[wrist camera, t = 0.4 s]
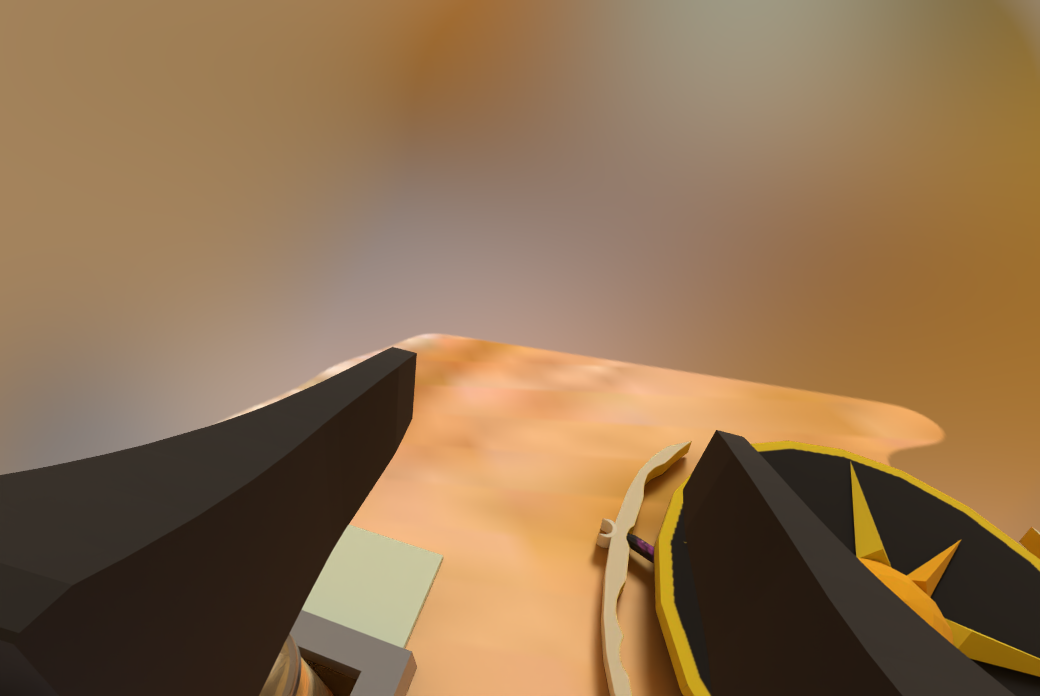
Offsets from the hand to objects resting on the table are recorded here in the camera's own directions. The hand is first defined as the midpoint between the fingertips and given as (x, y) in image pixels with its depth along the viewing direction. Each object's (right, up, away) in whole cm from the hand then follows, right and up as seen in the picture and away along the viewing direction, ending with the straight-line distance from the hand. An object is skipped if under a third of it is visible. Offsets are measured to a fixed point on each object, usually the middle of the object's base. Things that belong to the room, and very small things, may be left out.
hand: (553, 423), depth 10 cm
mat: (-10, -12, +15) cm, 22 cm away
